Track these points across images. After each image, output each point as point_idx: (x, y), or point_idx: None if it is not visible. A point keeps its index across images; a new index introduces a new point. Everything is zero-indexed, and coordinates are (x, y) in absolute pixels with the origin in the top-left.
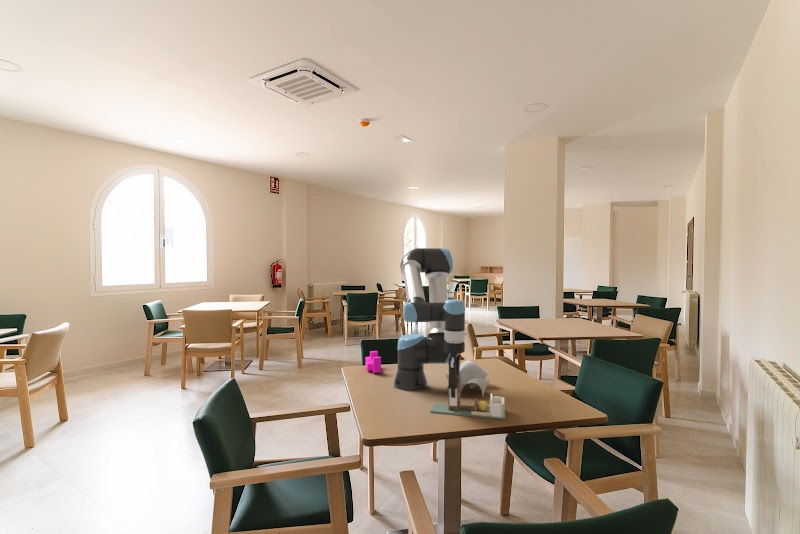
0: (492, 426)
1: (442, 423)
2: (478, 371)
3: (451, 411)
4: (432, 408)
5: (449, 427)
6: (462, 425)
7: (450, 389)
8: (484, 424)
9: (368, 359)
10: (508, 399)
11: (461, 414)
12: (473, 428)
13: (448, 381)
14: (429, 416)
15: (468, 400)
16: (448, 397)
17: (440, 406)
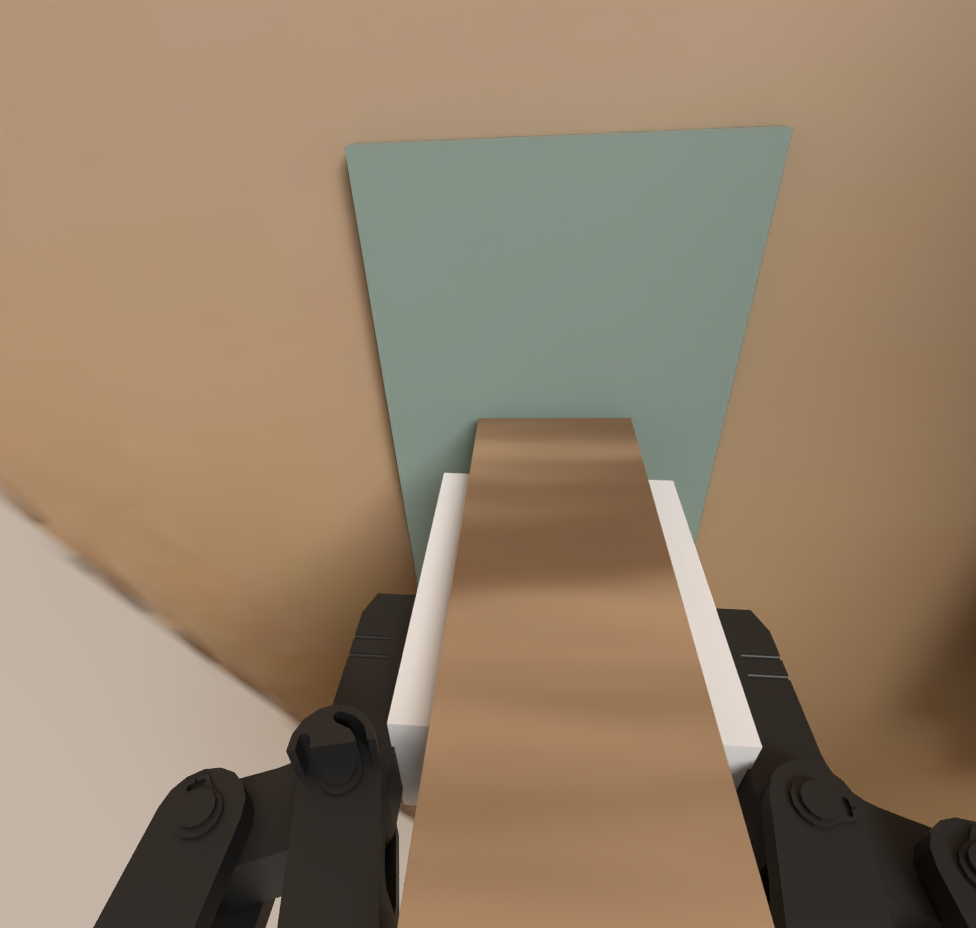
0: (296, 710)
1: (99, 383)
2: None
3: (440, 452)
4: (469, 164)
5: (59, 461)
6: (185, 554)
7: (398, 702)
8: (304, 676)
9: None
10: (895, 800)
11: (412, 542)
12: (182, 621)
13: (408, 880)
14: (198, 168)
15: (911, 570)
16: (462, 529)
17: (592, 287)
